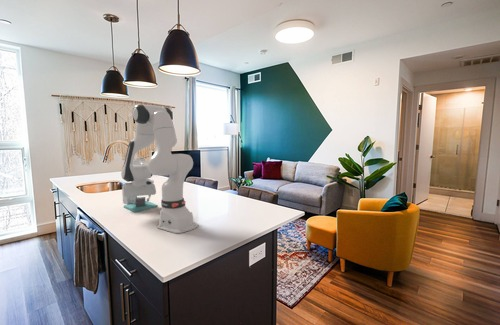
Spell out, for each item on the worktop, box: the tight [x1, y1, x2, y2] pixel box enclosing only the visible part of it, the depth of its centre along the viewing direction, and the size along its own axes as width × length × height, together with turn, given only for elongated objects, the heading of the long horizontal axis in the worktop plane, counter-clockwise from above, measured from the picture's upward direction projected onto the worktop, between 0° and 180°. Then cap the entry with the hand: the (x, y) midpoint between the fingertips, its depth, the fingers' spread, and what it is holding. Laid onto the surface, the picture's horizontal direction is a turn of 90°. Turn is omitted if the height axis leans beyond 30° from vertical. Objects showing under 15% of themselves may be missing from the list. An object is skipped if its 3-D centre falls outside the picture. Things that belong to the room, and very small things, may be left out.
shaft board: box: [123, 200, 159, 213], centre depth 161 cm, size 16×16×4 cm
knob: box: [135, 196, 147, 207], centre depth 160 cm, size 6×6×5 cm
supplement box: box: [121, 185, 138, 205], centre depth 171 cm, size 7×7×13 cm
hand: (140, 201), depth 160 cm, fingers open, 8 cm apart
